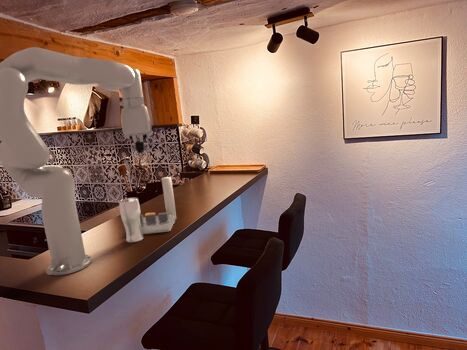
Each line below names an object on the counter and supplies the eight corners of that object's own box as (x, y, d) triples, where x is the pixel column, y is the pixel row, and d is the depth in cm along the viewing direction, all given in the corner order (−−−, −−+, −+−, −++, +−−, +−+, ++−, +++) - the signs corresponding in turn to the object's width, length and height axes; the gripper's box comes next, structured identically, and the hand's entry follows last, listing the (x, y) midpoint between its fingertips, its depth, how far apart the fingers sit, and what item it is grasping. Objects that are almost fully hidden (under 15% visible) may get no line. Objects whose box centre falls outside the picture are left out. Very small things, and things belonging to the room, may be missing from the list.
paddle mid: (155, 221, 133) (154, 213, 133) (146, 221, 133) (144, 214, 133) (156, 219, 135) (155, 212, 135) (147, 220, 135) (146, 213, 135)
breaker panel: (169, 231, 129) (168, 223, 129) (128, 235, 129) (127, 227, 129) (175, 221, 141) (174, 214, 140) (136, 225, 141) (135, 217, 141)
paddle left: (142, 222, 133) (141, 216, 133) (133, 223, 133) (132, 217, 133) (143, 220, 135) (142, 214, 135) (134, 221, 135) (133, 215, 135)
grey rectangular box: (167, 219, 133) (166, 213, 133) (158, 220, 133) (157, 214, 133) (168, 218, 135) (167, 212, 135) (159, 219, 135) (158, 213, 135)
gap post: (175, 219, 143) (170, 178, 140) (166, 220, 143) (160, 179, 140) (177, 217, 147) (171, 176, 144) (168, 218, 147) (162, 177, 144)
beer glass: (138, 234, 129) (132, 196, 127) (148, 238, 124) (142, 198, 122) (121, 240, 125) (115, 201, 122) (130, 244, 120) (124, 203, 117)
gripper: (110, 105, 123) (118, 155, 126) (151, 101, 123) (158, 151, 126) (117, 105, 130) (124, 153, 133) (155, 102, 130) (162, 149, 133)
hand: (140, 152), depth 130 cm, fingers closed
